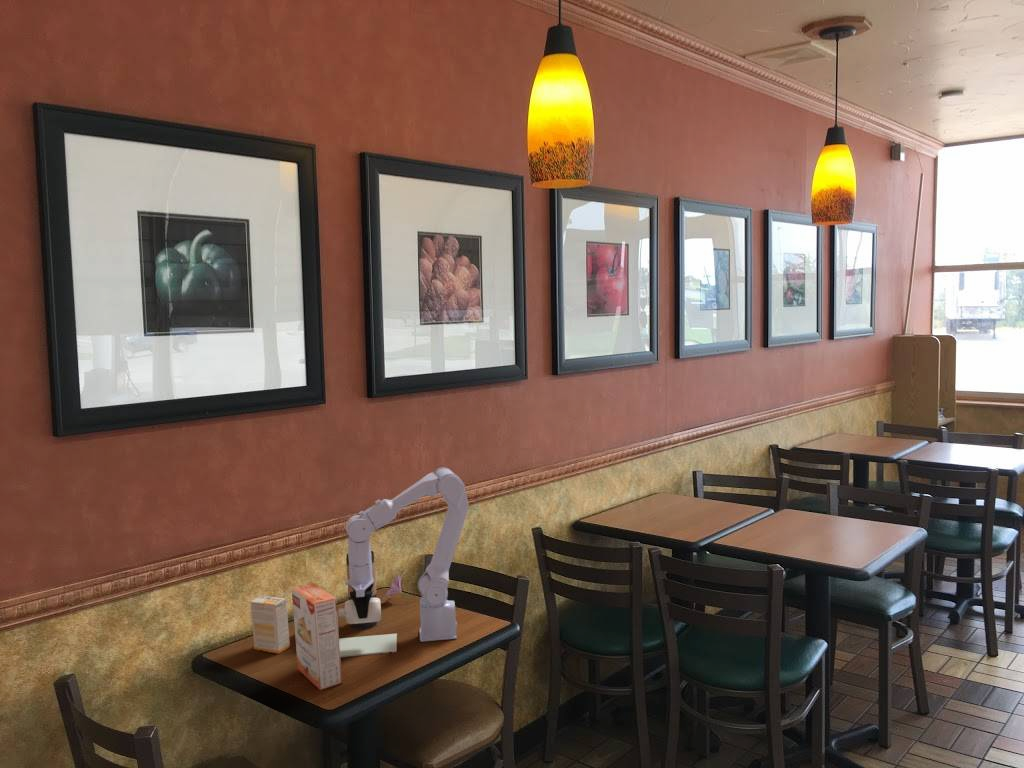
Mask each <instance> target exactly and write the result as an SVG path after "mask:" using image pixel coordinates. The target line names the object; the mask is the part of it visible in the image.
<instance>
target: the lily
mask: <svg viewBox="0 0 1024 768" xmlns="http://www.w3.org/2000/svg"><path fill="white" fill-rule="evenodd" d="M406 572H407V570H404V572H403V573H402V574H401V576H400V573H397V575H396V576H395V577H394V579H393V581H392V582H391V583H390V582H389V584H388V585H387V586H388V587H389V586H390V588H389V590H388V591H387V593H386V594H385V595H383V597H382V598H381V599H380V604H381V603H382V602H383V601H384V599H386V597H388V599H390V597H391V596H392V595H395V594H399V593H400V594H401V595H403V596H404V599H405V600H406V601H407V603H408V602H409V603H410V601H409V599H408V598H407V596H406V595H405V593H403V592H402V589H401V588H402V587H401V581H402V578H403V576H404V575H405V573H406Z"/></svg>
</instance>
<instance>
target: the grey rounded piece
mask: <svg viewBox="0 0 1024 768" xmlns="http://www.w3.org/2000/svg"><path fill="white" fill-rule="evenodd" d="M380 602H381V599H380V598H379V597H377V598H370V601H369V608H368V616H367V618H363V619H359V617H358V614H357V611H356V607H355V604H354V602H353V600H352V599H351V600H349V599H347V600H346V601H344V608H338V611H337V615H338V617H345V623H346V624H349V625H351V624H358V623H369V622H377V623H378V622H380V621H381V620H382V607H381V605H382V604H381V603H380Z"/></svg>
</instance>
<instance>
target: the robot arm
mask: <svg viewBox="0 0 1024 768" xmlns="http://www.w3.org/2000/svg"><path fill="white" fill-rule="evenodd" d="M438 493H439V494H440V495H441V496H442V497H443V500H444V501H445V503H446V505H447V506H448V507H447V511H446V514H445V517H444V521H443V522H442V527H441V530H440V533H439V536H438V538H437V541H436V544H435V549H434V551H433V554H432V557H431V560H430V563H429V565H428V566H426V568H425V571H424V573H423V574H422V575H421V576H420V577H419V579H418V582H417V589H418V591H419V592H420V594H421V598H420V599H419V615H420V617H419V618H420V619H419V620H420V628H419V631H418V632H419V642H422V643H424V642H434V641H444V640H456V639H457V628H458V622H457V621H456V620H457V619H456V605H455V603H456V602H455V600H448V597H449V596H448V595H449V592H448V591H449V590H448V585H449V581H450V577H449V574H450V573H449V571H450V567H451V564H452V561H453V559H454V558H453V557H454V555H455V552H456V549H457V545H458V543H459V539H460V536H461V533H462V530H463V528H464V527H463V526H464V525H465V520H466V517H467V514H468V512H469V510H470V509H469V507H470V503H469V500H468V495H467V491H466V485H465V483H464V482H463V480H462V479H461V478H460V476H458V475H457V474H455V473H454V472H453V471H452V470H451V469H450V468H448V467H438V468H437V469H435V471H433V472H430V473H428V474H426V475H425V476H423V477H422V478H421V479H419V480H418V481H417V482H415V483H413V484H412V485H411V486H409V487H408V488H406V489H405V490H403V491H401V492H400V493H399V494H398V495H396V496H395V497H394V498H392V499H386V498H383V499H382V500H380V499H377V500H375V501H374V503H375V504H374V505H372V506H371V507H368V508H367V509H365V511H363V510H361V511H359V512H358V514H359V515H352V516H351V517H350V518H349V519H348V520H347V522H346V523H345V527H344V528H345V532H346V533H347V534H348V536H347V544H348V546H347V553H348V556H349V572H350V580H347V579H346V580H345V586H348V585H351V587H352V589H353V591H352V592H350V597H351V599H352V600H353V602H354V604H355V607H356V611H357V614H358V617H359V619H363V618H367V616H368V608H369V601H370V598H371V596H372V593H373V591H371V590H372V587H373V584H374V579H373V575H372V559H371V551H372V546H371V545H372V544H371V541H370V540H371V539H370V537H371V535H372V533H374V532H376V531H377V530H379V529H380V528H382V527H384V526H385V525H387V524H388V523H391V522H392V521H393V520H394V519H396V518H397V515H398V512H399V511H400V510H402V509H404V508H405V507H407V506H409V505H410V504H413V503H414V502H416V501H418V500H419V499H421V498H423V497H425V496H427V497H438V496H439V495H438Z"/></svg>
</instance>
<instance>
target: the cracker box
mask: <svg viewBox="0 0 1024 768" xmlns="http://www.w3.org/2000/svg"><path fill="white" fill-rule="evenodd" d="M291 597H292V599H291V600H292V608H293V609H292V611H293V622H294V633H295V635H294V637H295V648H296V657H297V658H296V661H297V670H298V671H299V672H300V673H301V674H302V675H304V677H306V679H307V680H308V681H310V682H311V684H313V685H314V686H315V687H316V688H317V689H318V690H319V691H322V690H325V689H329V688H333V687H335V686H338V685H340V684H342V683H343V679H342V678H343V677H342V662H341V657H340V646H339V639H340V635H339V634H340V633H339V621H338V619H339V618H338V617H339V616H338V606H337V605H338V604H337V598H336V597H334V596H333V595H332V594H330V593H328V592H327V591H326V590H324V589H322V588H321V587H320V586H318V585H317V584H315V582H312V583H309V584H303V585H299V586H295V587H292V588H291Z"/></svg>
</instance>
